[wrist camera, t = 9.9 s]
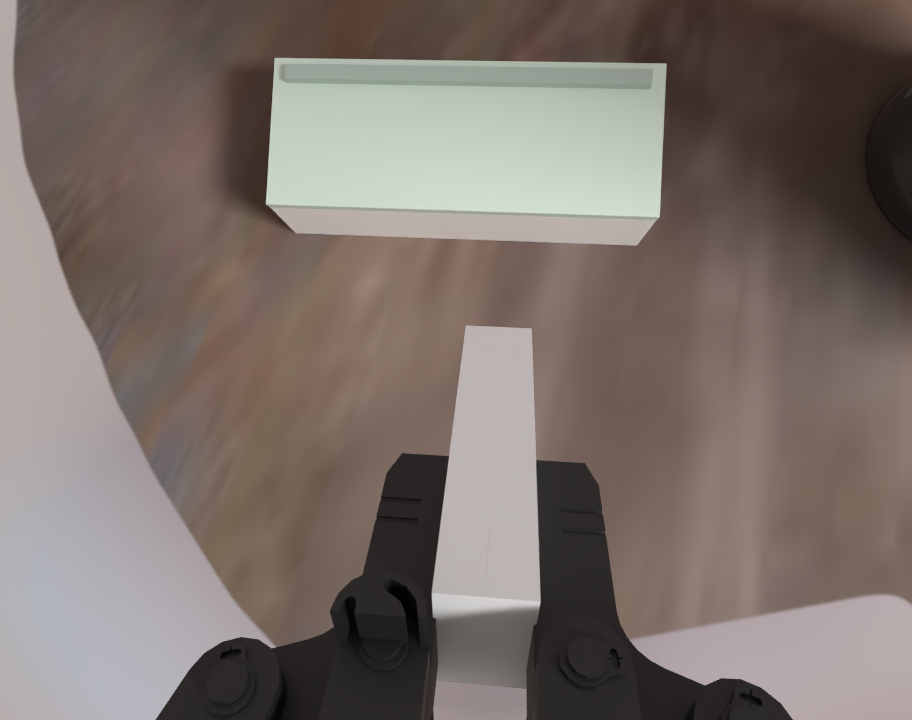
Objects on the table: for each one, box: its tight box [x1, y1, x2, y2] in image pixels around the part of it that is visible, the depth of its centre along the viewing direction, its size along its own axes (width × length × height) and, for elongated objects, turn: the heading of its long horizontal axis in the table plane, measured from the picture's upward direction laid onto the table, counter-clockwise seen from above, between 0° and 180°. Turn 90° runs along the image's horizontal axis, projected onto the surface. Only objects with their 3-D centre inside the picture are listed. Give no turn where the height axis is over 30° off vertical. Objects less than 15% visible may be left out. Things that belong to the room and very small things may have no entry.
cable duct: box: [271, 208, 655, 246], centre depth 41 cm, size 26×10×5 cm, turn 87°
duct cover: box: [266, 58, 667, 221], centre depth 38 cm, size 26×10×1 cm, turn 87°
